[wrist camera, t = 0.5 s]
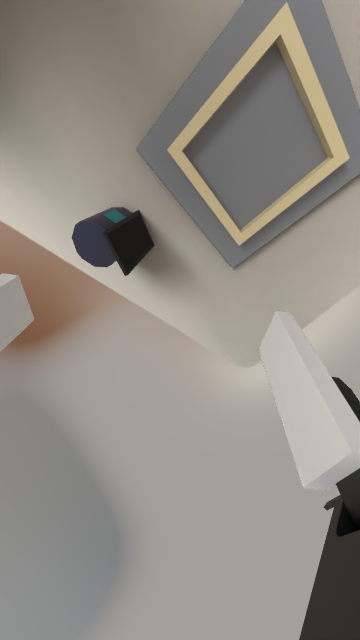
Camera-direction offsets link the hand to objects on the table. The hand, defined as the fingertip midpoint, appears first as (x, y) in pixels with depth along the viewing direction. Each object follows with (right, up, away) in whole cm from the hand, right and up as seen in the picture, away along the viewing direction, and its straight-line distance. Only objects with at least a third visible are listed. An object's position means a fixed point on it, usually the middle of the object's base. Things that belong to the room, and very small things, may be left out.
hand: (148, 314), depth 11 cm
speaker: (-7, +13, +21) cm, 26 cm away
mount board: (+11, +20, +15) cm, 27 cm away
